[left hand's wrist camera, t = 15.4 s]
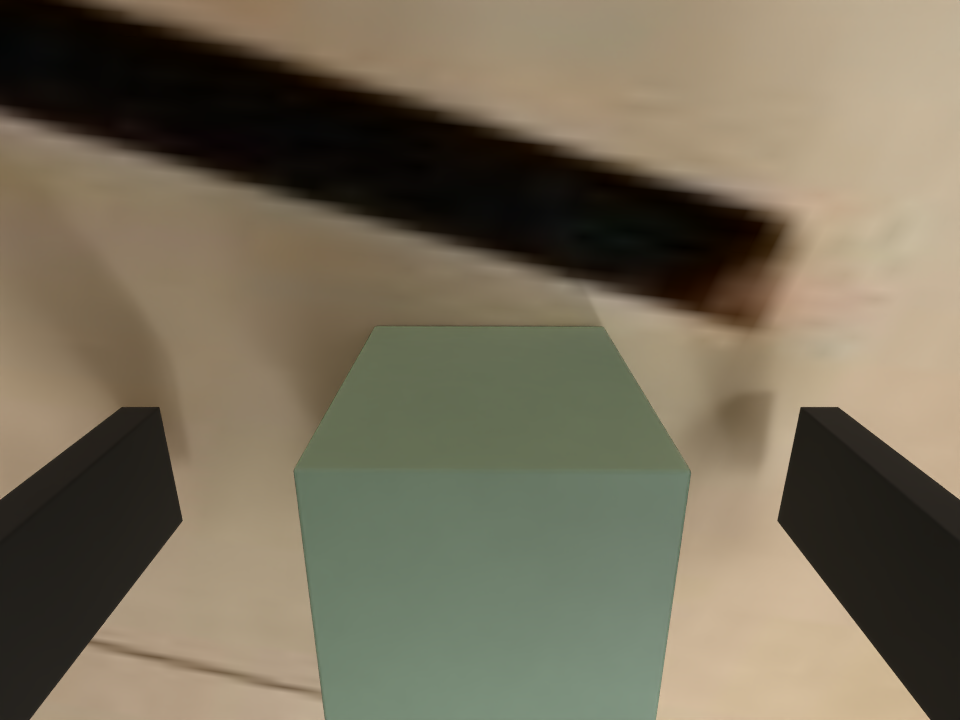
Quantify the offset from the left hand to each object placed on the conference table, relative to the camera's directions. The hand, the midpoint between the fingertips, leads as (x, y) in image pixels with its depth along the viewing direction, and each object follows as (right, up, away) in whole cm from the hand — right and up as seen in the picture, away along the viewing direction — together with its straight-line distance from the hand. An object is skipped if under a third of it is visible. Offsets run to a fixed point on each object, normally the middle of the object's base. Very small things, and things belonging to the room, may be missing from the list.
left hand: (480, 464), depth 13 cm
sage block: (0, +1, +1) cm, 2 cm away
